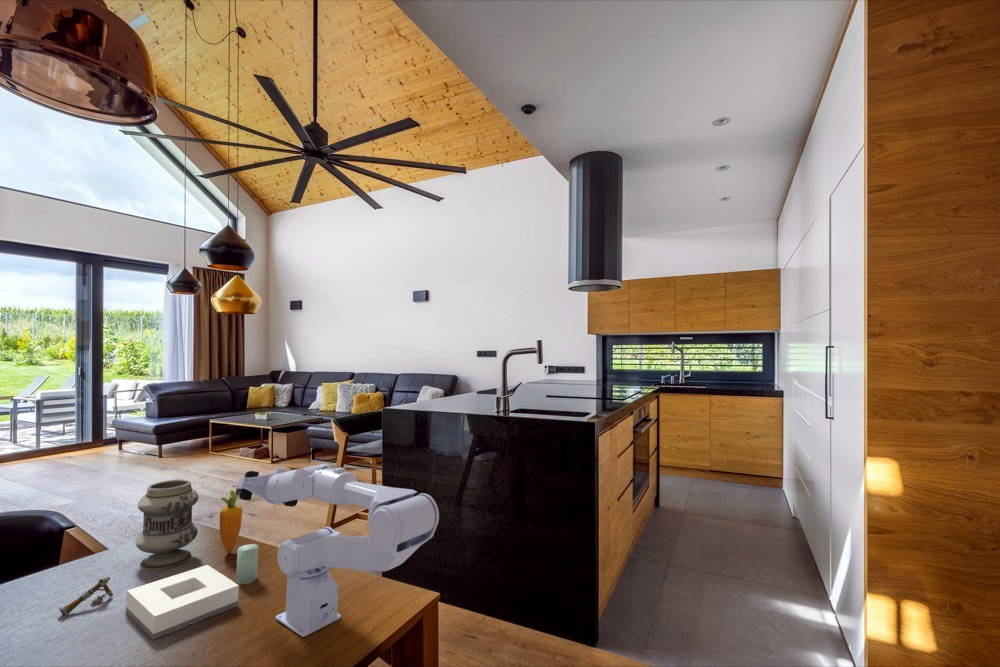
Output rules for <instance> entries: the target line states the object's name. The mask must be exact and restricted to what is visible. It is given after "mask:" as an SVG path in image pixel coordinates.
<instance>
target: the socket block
mask: <svg viewBox="0 0 1000 667" xmlns="http://www.w3.org/2000/svg"><path fill="white" fill-rule="evenodd" d="M239 587H240V585H238V584H236V581H235V582H234V580H232V579H230V578H229V577H227V576H226V575H224V574H222V573H221V572H219V571H217V570H216V569H215V568H213V567H211V566H210V565H208V564H206V565H202V566H199V567H197V568H193V569H190V570H187V571H184V572H181V573H178V574H175V575H171V576H168V577H165V578H162V579H159V580H155V581H153V582H149V583H146V584H142V585H140V586H136V587H134V588H131V589H130V588H129V589H127V590H126V600H125V602H126V604H125V613H126V614H127V615H128V616H129V617H130V618H131V619H132V620H133V621H134V620H135V621H134V622H135V623H136V624H137V625H138V626H139V627H140V628H141V629H142V630H143V631H144V632H145V633H146V634H147V636H148V637H149V638H151V639H152V640H153V641H154V639H155V640H157V639H160V638H162V637H164V636H163V635H165V634H167V633H169V632H172V631H174V630H176V629H178V628H181V627H184V626H186V625H189V624H191V623H194V624H196V623H195V622H197V621H199V622H201V621H200V620H202V619H204V620H206V619H205V618H207V619H209V618H211V617H210V616H212V617H214V616H216V615H215V614H217V615H219V614H221V612H222V613H224V612H226V611H228V610H231V609H234V608H236V607H238V606H237V605H239V589H240V588H239ZM233 607H234V608H233ZM218 613H219V614H218ZM213 615H214V616H213ZM208 617H209V618H208ZM202 621H203V620H202ZM197 623H198V622H197ZM189 626H190V625H189ZM184 628H185V627H184ZM172 633H173V632H172ZM167 635H168V634H167ZM161 636H162V637H161ZM165 636H166V635H165ZM159 637H160V638H159Z"/></svg>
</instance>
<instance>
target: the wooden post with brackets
mask: <svg viewBox="0 0 1000 667" xmlns="http://www.w3.org/2000/svg"><path fill="white" fill-rule="evenodd" d="M110 580H111V577H110V576H106V577H103V578H100V579H99V580H98V582H97V583H96V584H95V585H94V586H93V587H92V588H89V589H87V590H86V591H85V592H84V593H83V594H81V595H79V597H78V598H77V599H75V600H74V601H72V602H71V603H69V604H67V605H65V606H63V607H62V606H60V607H58V610H59V611H60V613H61V615H64V616H66V617H67V618H68V617H71V616H70V613H71V612H72V611H73V610H74V609H76V607H78V606H79V605H80V604H81V603H83V602H86V601H87V599H89V598H90V597H92V596H93V595H94V594H95V593H96V592H97V591H101V592H102V591H104V592H105V593H104V594H101V595H97V597H96V598H94V599H92V600H91V601H92V602H91V603H90V606H94V605H95V606H96V605H98V604H99V603H100V602H104V598H106V596H108V597H109V598H111V597H113V596H114V594H113V591H112V590H111V589H110V587H109V586H108V583H109V582H110Z"/></svg>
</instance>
